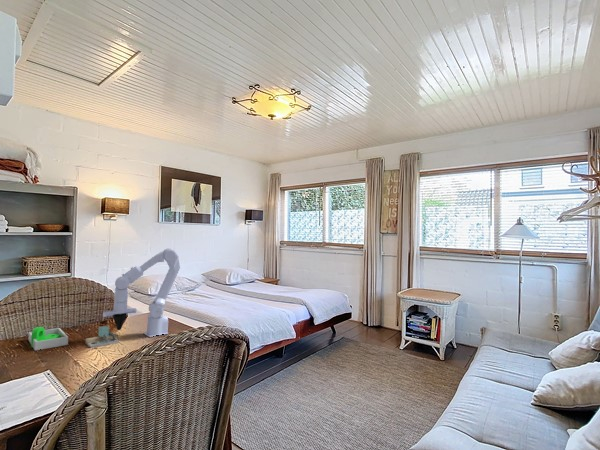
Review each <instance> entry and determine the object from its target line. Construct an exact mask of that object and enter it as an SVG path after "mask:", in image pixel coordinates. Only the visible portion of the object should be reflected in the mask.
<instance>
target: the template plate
mask: <svg viewBox="0 0 600 450" xmlns="http://www.w3.org/2000/svg"><path fill="white" fill-rule="evenodd" d="M119 343H120V340H119V339H116V338H115V339H113V338H112V339H108V340H100V341H95V342H89V343H87V344H86V345H87V347H88V348H90V349H94V348H98V347H103V346H108V345H113V344H119Z"/></svg>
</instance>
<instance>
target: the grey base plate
mask: <svg viewBox="0 0 600 450" xmlns="http://www.w3.org/2000/svg"><path fill="white" fill-rule="evenodd" d="M118 336H119V334H118V333H114V332H112V331H109V336H108V339H112V338H113V339H115V338H116V339H118V338H119V337H118ZM100 340H106V337H105V336H104V337H99V336H98V335H97V336H93V337H87V338H85V339H84V343H85V344H86V345H87V343H89V342H95V341H100ZM118 340H119V339H118Z"/></svg>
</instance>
